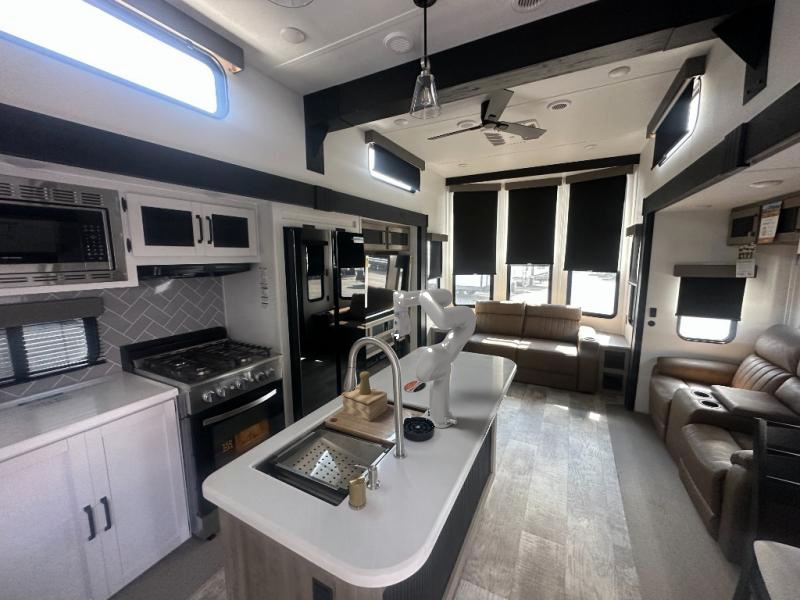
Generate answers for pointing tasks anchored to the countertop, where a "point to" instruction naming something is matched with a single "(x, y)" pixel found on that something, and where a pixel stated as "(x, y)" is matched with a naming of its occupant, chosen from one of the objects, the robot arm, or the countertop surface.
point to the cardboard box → (365, 408)
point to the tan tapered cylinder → (364, 383)
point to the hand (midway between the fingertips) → (402, 345)
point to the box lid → (365, 398)
